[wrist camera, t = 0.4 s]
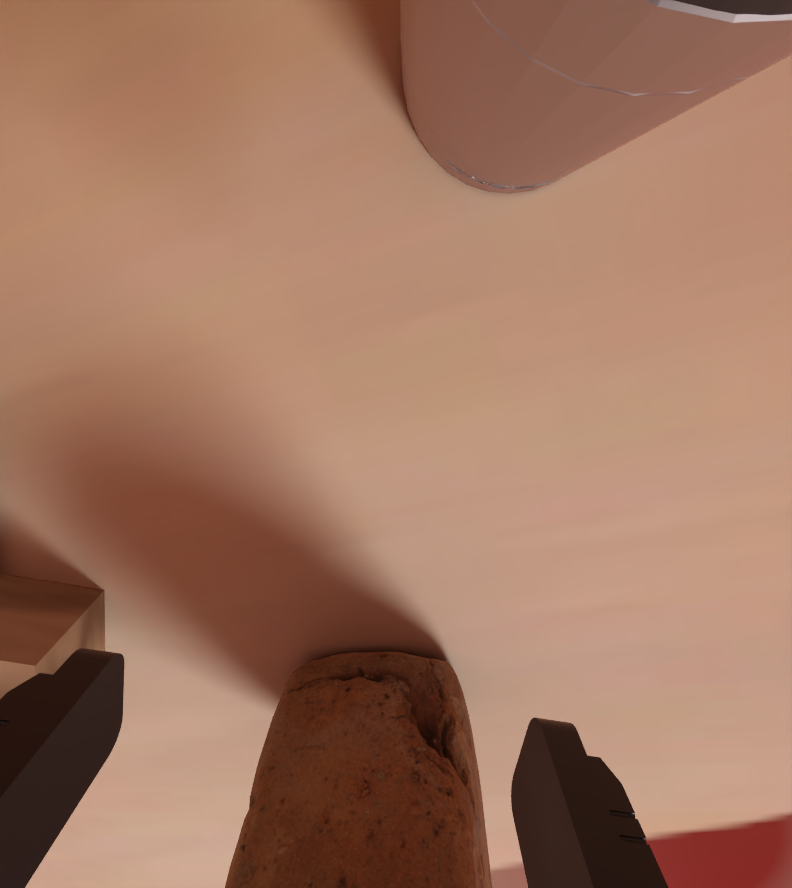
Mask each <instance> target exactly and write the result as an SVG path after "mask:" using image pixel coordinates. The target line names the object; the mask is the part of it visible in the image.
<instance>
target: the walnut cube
mask: <svg viewBox="0 0 792 888" xmlns="http://www.w3.org/2000/svg"><path fill="white" fill-rule="evenodd" d="M80 648H86V649H92V650H99V651H105V609H104V590H98V589H92V588H86V587H80V586H73V585H67V584H61V583H55V582H49V581H43V580H36V579H30V578H24V577H18V576H12V575H6V574H0V699H1V698H2V697H3V696H4V695H5V694H6V693H7V692H8V691H10V690H12V689H13V688H15V687H17V686H18V685H20V684H22V683H23V682H25V681H27V680H28V679H30V678H32V677H34V676H35V675H37V674H39V673H45V674H52V675H53V674H54V673H55V672H56V671H57V670H58V669H59V668H60V667H61V665H62V664H63V663H64V662H65V661H66V660H67V659H68V658H69V657H70V656H71V655H72V654H73V653H74V652H75V651H76V650H77V649H80Z"/></svg>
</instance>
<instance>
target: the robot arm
mask: <svg viewBox="0 0 792 888" xmlns="http://www.w3.org/2000/svg"><path fill="white" fill-rule="evenodd" d="M400 18H401V57H402V84H403V90H404V95H405V100H406V105H407V110H408V114H409V116H410V118H411V121H412V123H413V126H414V128H415V131H416V133H417V136H418V137H419V139H420V140H421V142H422V143H423V145H424V146H425V148H426V149H427V151H428V153H429V154H430V156H431V157H432V158H433V159H434V160H435V161H436V162H437V163H438V164H439V165H440V166H441V167H442V168H443V169H444V170H445V171H446V172H448V173H449V174H451V175H452V176H454V177H455V178H457V179H459V180H460V181H462V182H464V183H465V184H467V185H470V186H473V187H476V188H479V189H482V190H485V191H488V192H500V193H516V192H523V191H529V190H534V189H537V188H539V187H542V186H544V185H547V184H550V183H552V182H555V181H557V180H558V179H560V178H562V177H564V176H566V175H568V174H570V173H572V172H573V171H575V170H577V169H579V168H581V167H584V166H585V165H587V164H589V163H591V162H593V161H595V160H597V159H599V158H600V157H602V156H604V155H606V154H608V153H610V152H612V151H613V150H615V149H617V148H619V147H621V146H623V145H625V144H626V143H628V142H630V141H632V140H634V139H636V138H638V137H639V136H641V135H643V134H645V133H647V132H649V131H651V130H652V129H654V128H656V127H658V126H660V125H662V124H664V123H665V122H667V121H669V120H671V119H673V118H675V117H677V116H678V115H680V114H682V113H684V112H686V111H688V110H690V109H691V108H693V107H695V106H697V105H699V104H701V103H703V102H704V101H706V100H708V99H710V98H712V97H714V96H716V95H717V94H719V93H721V92H723V91H725V90H727V89H729V88H730V87H732V86H734V85H736V84H738V83H740V82H742V81H743V80H745V79H747V78H749V77H751V76H753V75H755V74H756V73H758V72H760V71H762V70H764V69H766V68H768V67H769V66H771V65H773V64H775V63H777V62H779V61H781V60H782V59H784V58H786V57H788V56H790V55H792V0H400ZM123 686H124V658H123V655H122V654H119V653H112V652H106V651H99V650H92V649H86V648H80V649H77V650H76V651H75V652H74V653H73V654H72V655H71V656H70V657H69V658H68V659H67V660H66V661H65V662H64V663H63V664H62V665H61V667H60V668H59V669H58V670H57V671H56V672H55V673H54V674H53V675H52V674H45V673H39V674H37V675H35V676H34V677H32V678H30V679H28V680H27V681H25V682H23V683H22V684H20V685H18V686H17V687H15V688H13V689H12V690H10V691H8V692H7V693H6V694H5V695H4V696H3V697H2V698H1V699H0V888H25V886H26V885H27V883H28V882H29V880H30V879H31V877H32V875H33V874H34V872H35V871H36V869H37V868H38V866H39V865H40V863H41V861H42V860H43V858H44V857H45V855H46V854H47V852H48V850H49V849H50V847H51V846H52V844H53V843H54V841H55V839H56V838H57V836H58V835H59V833H60V832H61V830H62V828H63V827H64V825H65V824H66V822H67V821H68V819H69V817H70V816H71V814H72V813H73V811H74V810H75V808H76V806H77V805H78V803H79V802H80V800H81V799H82V797H83V795H84V794H85V792H86V791H87V789H88V788H89V786H90V785H91V783H92V781H93V780H94V778H95V777H96V775H97V774H98V772H99V770H100V769H101V767H102V766H103V764H104V763H105V761H106V759H107V758H108V756H109V755H110V753H111V751H112V749H113V747H114V745H115V743H116V740H117V737H118V735H119V731H120V728H121V724H122V717H123ZM511 802H512V812H513V817H514V822H515V827H516V831H517V836H518V841H519V845H520V850H521V855H522V859H523V864H524V869H525V874H526V878H527V883H528V888H668V886H667V883H666V881H665V879H664V877H663V875H662V872H661V870H660V868H659V866H658V864H657V862H656V859H655V857H654V855H653V852H652V850H651V848H650V846H649V845H647V844H646V837H645V835H644V832H643V830H642V828H641V826H640V823H639V821H638V819H635V812H634V810H633V808H632V806H631V803H630V801H629V799H628V797H627V795H626V792H625V790H624V788H623V786H622V784H621V783H620V781H619V780H618V779H617V778H616V776H615V775H614V774H613V773H612V772H611V770H610V769H609V768H608V767H607V766H606V764H605V763H604V762H603V761H602V759H601V758H599V757H593V756H587V754H586V752H585V749H584V747H583V744H582V742H581V739H580V737H579V734H578V732H577V730H576V728H575V726H574V725H573V724H571V723H567V722H560V721H554V720H547V719H540V718H533V719H532V720H531V721H530V723H529V726H528V729H527V732H526V735H525V739H524V742H523V745H522V749H521V752H520V755H519V759H518V762H517V765H516V768H515V772H514V775H513V780H512V790H511Z"/></svg>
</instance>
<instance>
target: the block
mask: <svg viewBox="0 0 792 888" xmlns="http://www.w3.org/2000/svg"><path fill="white" fill-rule="evenodd" d="M225 888H492V883H491V873H490V864H489V855H488V847H487V838H486V831H485V821H484V812H483V803H482V794H481V786H480V779H479V771H478V765H477V760H476V754H475V747H474V741H473V735H472V729H471V724H470V720H469V715H468V711H467V707H466V703H465V699H464V695H463V691H462V689H461V686H460V683H459V680H458V678H457V675H456V673H455V672H454V670H453V668H452V667H451V665H450V664H449V663H448V662H445V661H442V660H439V659H434V658H424V657H420V656H414V655H410V654H406V653H402V652H389V651H388V652H366V653H362V652H353V653H344V654H336V655H332V656H329V657H325V658H322V659H318V660H315V661H311V662H308V663H306V664H305V665H303V666H301V667H300V668H298V669H297V670H296V671H295V672H294V673H292V675H291V677H290V679H289V681H288V683H287V684H286V687H285V689H284V692H283V694H282V696H281V699H280V701H279V703H278V706H277V708H276V711H275V713H274V716H273V719H272V722H271V725H270V728H269V731H268V734H267V737H266V740H265V743H264V746H263V750H262V753H261V756H260V759H259V762H258V766H257V770H256V774H255V778H254V783H253V787H252V791H251V796H250V806H249V811H248V813H247V815H246V817H245V819H244V823H243V826H242V829H241V833H240V836H239V840H238V843H237V846H236V849H235V853H234V856H233V859H232V862H231V866H230V869H229V873H228V877H227V881H226V886H225Z"/></svg>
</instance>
